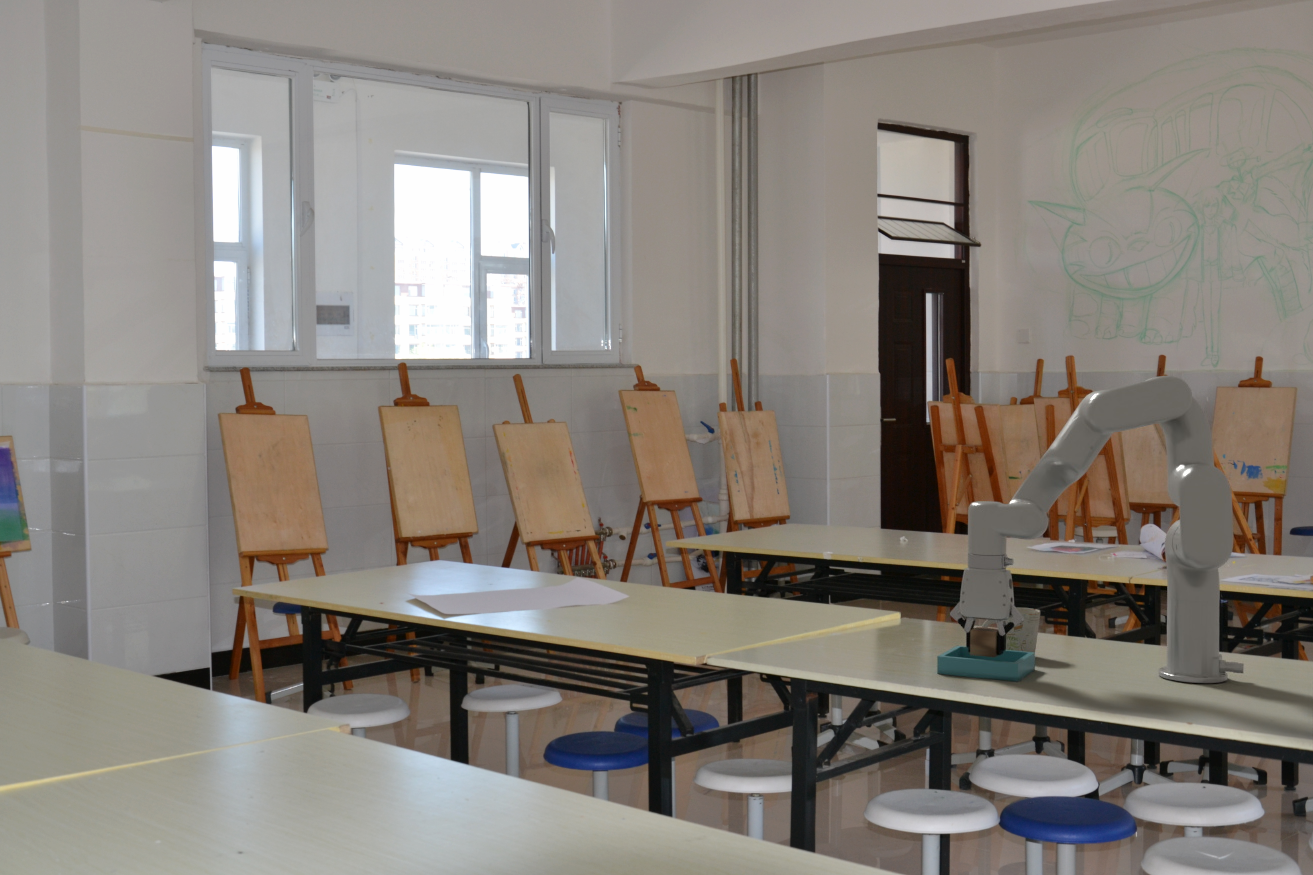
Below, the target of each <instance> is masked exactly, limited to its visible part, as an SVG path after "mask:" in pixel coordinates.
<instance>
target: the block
mask: <svg viewBox="0 0 1313 875" xmlns="http://www.w3.org/2000/svg"><path fill="white" fill-rule="evenodd" d="M998 632H999V631H998V627H996V628H995V627H988V628H986V627H982V626H975V627H974V629H972V630H970V655H976V656H986V657H997V656H998V655H997V635H998Z"/></svg>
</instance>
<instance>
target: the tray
mask: <svg viewBox="0 0 1313 875" xmlns="http://www.w3.org/2000/svg"><path fill="white" fill-rule="evenodd" d="M936 658H937V663H936V664H937V666H936V667H937V669H936V673H937V675H945V676H958V677H966V678H967V677H968V678H976V679H977V678H978V679H986V680H987V679H988V680H995V681H997V680H998V681H1007V682H1018V683H1019V681H1022V680H1023V679H1024V678H1025V677H1027V676H1028V675H1030V674H1031V673H1032V672H1034V671H1035V670H1036V651H1035V652H1024V651H1013V650H1005V651H1004V652H1003V654H1001V655H998V656H997V657H986V656H976V655H970V652H968V647H966V645H965V646H964V645H956V646H954V647H952V648H950V649H948V650H946V651H944V652H943V653H940V654H939V655H937V657H936Z"/></svg>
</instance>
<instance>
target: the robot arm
mask: <svg viewBox="0 0 1313 875" xmlns="http://www.w3.org/2000/svg"><path fill="white" fill-rule="evenodd" d="M1155 424H1158V425H1159V427H1160V428H1161V430H1162V431H1163V436H1164V440H1165V447H1166V448H1165V449H1166V466H1167V467H1166V469H1167V477H1166V479H1167V480H1166V481H1167V482H1166V483H1167V484H1166V485H1167V494H1168V497H1169V499H1170V500H1171V502H1172V503H1173V504H1174V505H1176V506H1177V507H1178V511H1179V512H1178V513H1179V519H1178V520H1175V522H1174V523H1172V525H1170V526H1169V528H1168V530H1167V532H1166V535H1165V539H1164V556H1165V563H1166V581H1167V582H1166V584H1167V586H1166V587H1167V591H1166V592H1167V593H1166V594H1167V597H1166V609H1167V610H1166V666H1161V667H1160V668H1158V669H1157V670H1158V671H1157V672H1158V676H1159V677H1161V678H1162V679H1163V678H1164V679H1166V680H1171V681H1176V682H1183V683H1191V684H1193V683H1196V684H1217V683H1224V682H1226V681H1227V680H1228V673H1233V674H1244V672H1245V664H1244V662H1243V663H1241V662H1236V661H1226V660H1225V659H1223V654H1222V653H1221V654H1220V600H1221V598H1220V595H1221V594H1220V593H1221V592H1220V590H1221V589H1220V588H1221V587H1220V575H1219V574H1220V573H1219V568H1221V567H1223V566H1224V565H1225V564H1226V563H1227V562H1228V561H1229V559H1230V558H1231V556H1232V553H1233V547H1234V517H1233V515H1234V514H1233V495H1232V487H1231V485H1230V481H1229V480H1228V478H1227V476H1226V474H1224V472H1223V471H1222V470H1221V469H1220V468H1218V467H1216V466H1215V460H1214V458H1215V456H1214V446H1213V435H1212V429H1211V425H1210V421H1209V419H1208V416H1207V414H1206V413H1205V411H1204V409H1203V408H1202V406H1201V404H1200V403H1199V402H1198V401H1197V400H1196V399H1195V397H1193V392H1192V389H1191V387H1190V385H1189V384H1188V383H1187V382H1186V381H1185V380H1183V379H1182V378H1180V377H1178V376H1174V375H1163V376H1153V377H1150V378H1147V379H1146V380H1144V381H1140V382H1136V383H1132V384H1128V385H1123V386H1120V387H1114V388H1109V389H1102V390H1100V389H1099V390H1095V391H1092V392H1090V393H1089V394H1086V396H1085V397H1083V399H1081V401H1080V403H1079V404H1078V405H1077V407H1076V409H1075V410H1074V411H1073V412H1072V414H1071V416H1070V417H1069V418H1068V420H1067V422H1066V423H1065V425H1064V426H1063V427H1062V429H1061V430H1060V432H1059V433H1058V435H1057V436H1056V437H1055V439H1054V440H1053V442H1052V443H1051V444H1050V446H1049V447H1048V449H1047V450H1046V452H1045V453H1044V454H1043V455H1042V457H1041V458H1040V459H1039V461H1038V463H1037V464H1036V465H1035V467H1034V468H1033V469H1032V470H1031V471H1030V473H1029V474H1028V475H1027V476H1026V478H1025V479H1024V481H1023V482H1022V483H1021V484H1020V486H1019V488H1018V489H1017V491H1016V492H1015V494H1014V495H1013V496H1012V498H1011V500H1010V501H1009V503H1007V504H1006V503H1005V504H1004V503H1002V502H1000V501H990V500H989V501H987V500H984V501H983V500H981V501H980V500H979V501H973V502H971V503H970V504H969V505H968V512H967V514H968V515H967V519H968V520H967V521H968V522H967V567H965V568H964V570H963V574H962V580H961V586H960V587H961V588H960V595H959V596H960V597H959V601H958V603H957V604H956V605H955V606H954V607H953V609H951V611H950V612H949V616H951V618H953V619H954V621H955V622H957V623H958V625H959V626H961V628H962V629H963V630H964V631H963V632H965V633H966V634H965V646H966V647H968V652H970V630H972V629H974V628H975V625H976V622H977V620H985V621H986V620H996V623H995V624H996V628H998V631H999V632H998V635H997V655H1001V654H1003V652H1004V651H1005V650H1006V634H1007V633H1008V632H1009V631H1010V630H1011V629H1012V628H1013V627H1015V626H1016V625H1017V624H1019V623H1020V622H1022V621H1023V620H1024V618H1023V616H1022V615H1021V614H1020V612H1019V611H1018V610H1017V608H1016V605H1015V597H1014V596H1015V595H1014V585H1013V584H1014V583H1013V578H1012V572H1011V570H1010V569H1007V567H1009V566H1013V565H1014V563H1015V562H1014V558H1010V557H1009V556H1008V554H1007V538H1012V539H1020V540H1028V541H1030V540H1035V539H1037V538H1040V537H1042V535H1044V533H1045V532H1046V531H1047V529H1048V527H1049V518H1048V512H1049V511H1050V510H1051V508H1052V506H1053V505H1054V504H1055V502H1056V501H1057V500H1058V498H1059V497H1060V496H1061V495H1062V494H1063V492H1064V491H1066V489H1068V488H1069V487H1070V486H1072V485H1073V484H1074V483H1076V482H1077V481H1078V480H1080V479H1081V478H1082V477H1083V476H1084V475H1085V474H1086V473H1087V472H1088V470H1089V468H1090V466H1092V464H1093V463H1094V461H1095V459H1096V458H1097V456H1098V455H1099V454H1100V452H1101V451H1102V449H1103V448H1104V446H1105V445H1106V444H1107V442H1108V441H1109V440H1110V438H1111V437H1112V436H1113V434H1114V433H1120V432H1124V431H1130V430H1134V429H1139V428H1143V427H1148V426H1151V425H1155ZM1012 616H1013V617H1014V619H1013V620H1012V621H1011V622H1009V623H1008V624H1007V623H1006V619H1008V618H1010V617H1012Z"/></svg>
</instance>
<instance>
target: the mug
mask: <svg viewBox="0 0 1313 875" xmlns="http://www.w3.org/2000/svg"><path fill="white" fill-rule="evenodd" d="M1015 607H1016V606H1015ZM1016 608H1017V610H1018V611H1019V612H1020V614H1021V615H1022V616H1023V618H1024V620H1023V621H1022V622H1020V623H1019V624H1017V625H1016V626H1015V627H1013V628H1012V629H1011V630H1010V631H1009V632H1008V633H1007V634H1006V650H1013V651H1024V652H1035V653H1036V649H1037V648H1036V647H1037V640H1038V632H1039V626H1040V617H1041V610H1040V609H1036V608H1029V607H1018V606H1017V607H1016ZM1013 619H1014V617H1013V616H1012V617H1010V618H1008V619H1006V623H1007V624H1008V623H1009V622H1011V621H1012V620H1013ZM992 624H996V620H986V619H985V621H984V622H983V623H982V625H981V627H986V628H990V626H991V625H992Z"/></svg>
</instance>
